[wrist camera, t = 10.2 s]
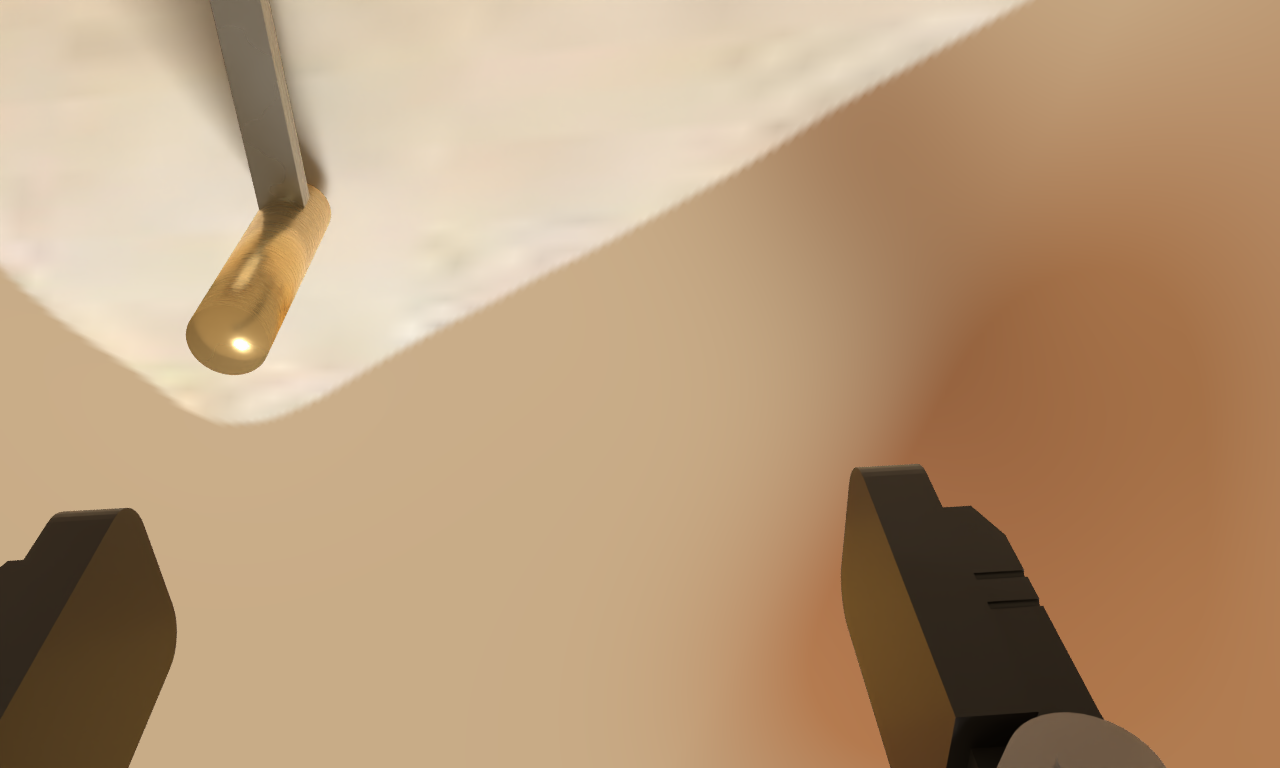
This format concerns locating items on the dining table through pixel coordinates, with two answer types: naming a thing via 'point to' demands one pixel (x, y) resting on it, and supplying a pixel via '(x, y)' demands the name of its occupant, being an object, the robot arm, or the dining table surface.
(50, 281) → the dining table surface
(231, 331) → the lever handle
